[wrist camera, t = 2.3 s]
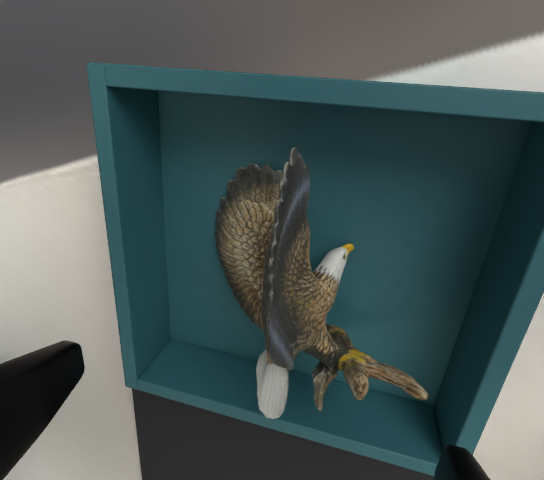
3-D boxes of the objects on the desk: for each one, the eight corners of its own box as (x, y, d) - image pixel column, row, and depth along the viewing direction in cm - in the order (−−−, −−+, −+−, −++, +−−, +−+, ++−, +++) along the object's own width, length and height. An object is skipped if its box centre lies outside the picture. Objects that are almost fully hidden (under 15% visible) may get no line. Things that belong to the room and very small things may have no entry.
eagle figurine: (466, 306, 13) (348, 99, 10) (391, 497, 10) (179, 269, 7) (324, 297, 19) (224, 166, 16) (248, 413, 16) (102, 273, 13)
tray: (164, 341, 20) (125, 386, 17) (147, 70, 15) (85, 61, 12) (444, 412, 17) (460, 485, 14) (558, 98, 12) (630, 98, 8)
